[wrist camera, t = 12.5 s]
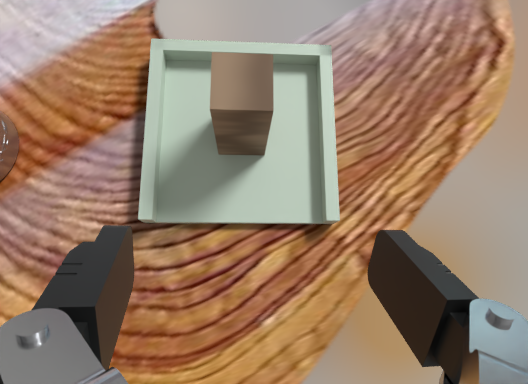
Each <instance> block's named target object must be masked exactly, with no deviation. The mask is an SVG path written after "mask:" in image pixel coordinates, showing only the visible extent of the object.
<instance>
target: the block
mask: <svg viewBox="0 0 528 384" xmlns="http://www.w3.org/2000/svg"><path fill="white" fill-rule="evenodd" d="M273 111H274V99H273V54H250V53H223V52H212V59H211V88H210V113H211V118H212V123H213V128H214V134H215V139H216V144H217V149H218V154H219V155H265V150H266V146H267V141H268V136H269V131H270V126H271V121H272V116H273Z"/></svg>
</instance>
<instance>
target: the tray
mask: <svg viewBox="0 0 528 384" xmlns="http://www.w3.org/2000/svg"><path fill="white" fill-rule="evenodd" d="M212 52H223V53H250V54H273V99H274V111H273V116H272V121H271V126H270V131H269V136H268V141H267V146H266V150H265V155H219V154H218V149H217V144H216V139H215V134H214V128H213V123H212V118H211V113H210V88H211V59H212ZM138 220H140V221H142V222H144V223H221V224H334V223H336V222H338V221H340V216H339V196H338V176H337V156H336V136H335V116H334V96H333V76H332V56H331V45H310V44H283V43H256V42H255V43H254V42H229V41H202V40H201V41H200V40H175V39H151V51H150V64H149V78H148V91H147V105H146V118H145V132H144V145H143V158H142V172H141V185H140V199H139V212H138Z"/></svg>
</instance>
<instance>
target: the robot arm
mask: <svg viewBox="0 0 528 384" xmlns="http://www.w3.org/2000/svg"><path fill="white" fill-rule="evenodd" d="M18 151H19V138H18V133H17V130H16V128H15V126H14V124H13V122H12V121H11V120H10V119H9V118H8V116H6V115H5V114H4V113H2V112H1V111H0V181H1V180H2V179H3V178H4V177H5V176H6V175H7V173H8V172H9V171H10V170H11V168H12V166H13V164H14V162H15V161H16V158H17V154H18ZM368 281H369V284H370V287H371V288H372V289H373V291H374V293H375V294H376V296H377V298H378V299H379V301H380V302H381V304H382V305H383V307H384V308H385V310H386V311H387V313H388V314H389V316H390V318H391V319H392V321H393V322H394V324H395V325H396V327H397V328H398V330H399V331H400V333H401V334H402V336H403V338H404V339H405V341H406V342H407V344H408V345H409V347H410V348H411V350H412V352H413V353H414V354H415V356H416V358H417V359H418V361H419V362H420V364H421V365H422V367H429V366H441V367H442V369H443V372H442V374H441V377H440V380H439V384H528V321H527V320H526V318H525V317H523V316H522V315H521V314H520V313H519V312H517V311H516V310H514V309H513V308H511V307H509V306H507V305H505V304H502V303H500V302H497V301H494V300H489V299H479V298H478V297H477V296H476V295H475V294H474V293H473V292H472V291H471V290H470V289H469V288H468V287H467V286H466V285H465V284H464V283H463V282H461V280H459V278H457V277H456V276H455V275H454V274H453V273H451V271H450V270H449V269H448V268H447V267H446V266H445V265H443V264H442V262H441V261H440V260H439V259H438V258H437V257H436V256H435V255H434V254H433V253H431V252H429V251H428V250H426V249H424V248H423V247H421V246H419V245H418V244H417V243H416V242H415V241H414V240H413V239H412V238H411V237H410V236H409V235H408V234H407V233H406V232H405V231H403V230H380V231H379V232H378V233H377V236H376V239H375V243H374V247H373V251H372V255H371V259H370V263H369V267H368ZM133 282H134V257H133V239H132V229H131V226H110V225H105V226H103V227H102V229H101V231H100V233H99V235H98V236H97V238H96V240H95V242H82V243H81V244H80V245H78V246H77V247H75V248H74V249H72V250H71V251H70V252H69V253H68V255H67V256H66V258H65V259H64V261H63V262H62V266H60V267H59V268H58V270H57V272H56V274H55V276H53V278H52V279H51V281H50V282H49V284H48V286H47V287H46V289H45V290H44V292H43V293H42V295H41V296H40V298H39V300H38V301H37V303H36V304H35V306H34V307H33V309H32V310H31V311H28V312H25V313H22V314H20V315H18V316H16V317H14V318H12V319H10V320H9V321H7V322H6V323H4V324H3V325H2V326H1V327H0V384H128V383H127V381H126V380H125V379H124V377H123V376H122V374H121V373H120V372H119V371H118V370H117V369H116V368H114V367H111V368H110V369H108V368H109V365H110V362H111V358H112V355H113V352H114V348H115V345H116V342H117V338H118V335H119V332H120V328H121V325H122V322H123V318H124V315H125V312H126V308H127V305H128V302H129V298H130V295H131V292H132V288H133Z"/></svg>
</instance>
